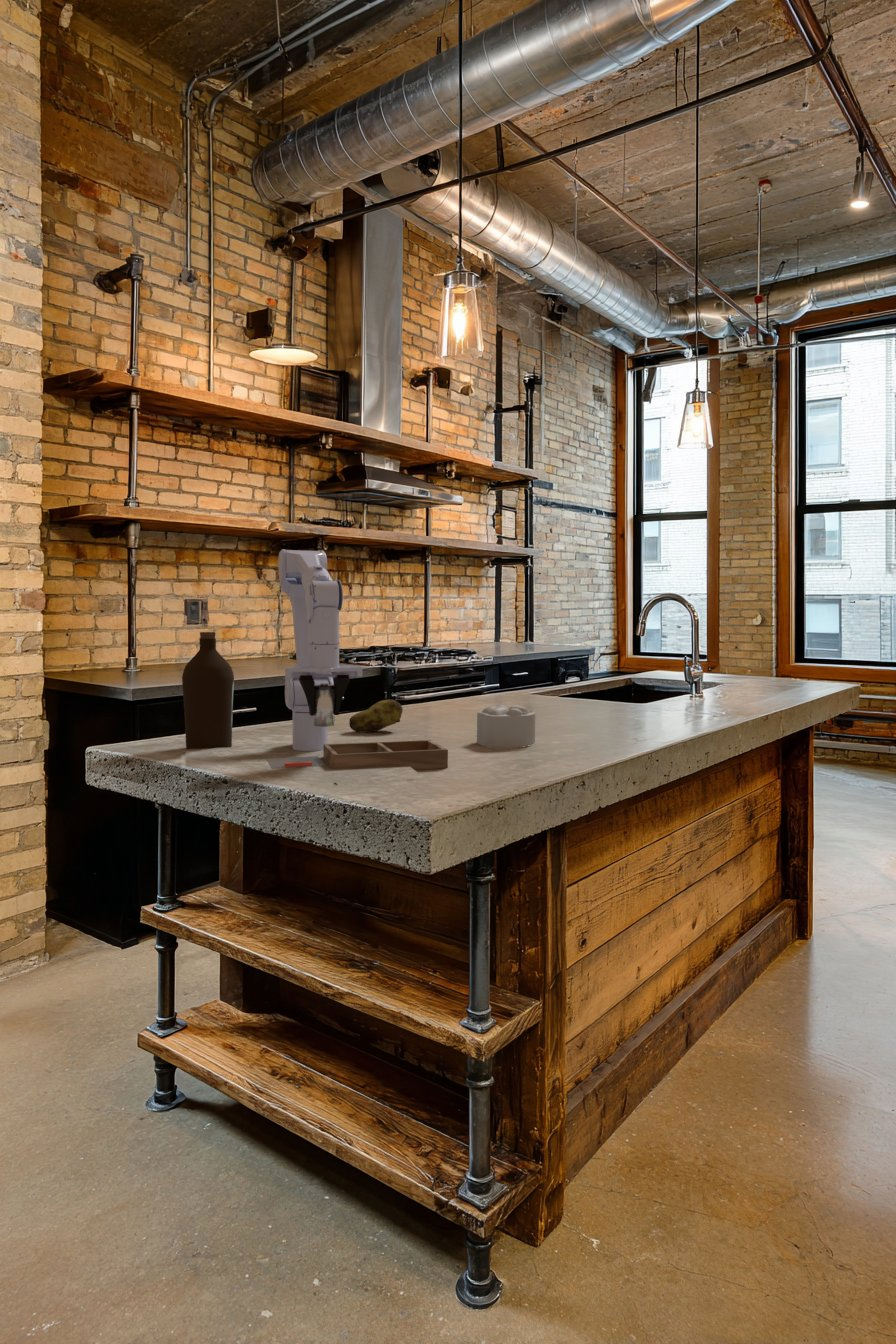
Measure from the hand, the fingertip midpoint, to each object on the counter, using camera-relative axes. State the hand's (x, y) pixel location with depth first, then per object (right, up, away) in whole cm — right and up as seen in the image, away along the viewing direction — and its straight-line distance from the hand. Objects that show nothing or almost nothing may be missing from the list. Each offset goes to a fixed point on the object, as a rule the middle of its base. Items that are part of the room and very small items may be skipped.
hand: (324, 714), depth 160 cm
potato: (+6, -7, +45) cm, 46 cm away
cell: (0, -2, 0) cm, 2 cm away
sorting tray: (+11, -10, +3) cm, 15 cm away
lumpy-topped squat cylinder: (+37, -8, +29) cm, 48 cm away
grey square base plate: (-5, -10, 0) cm, 11 cm away
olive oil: (-27, -8, +19) cm, 34 cm away
